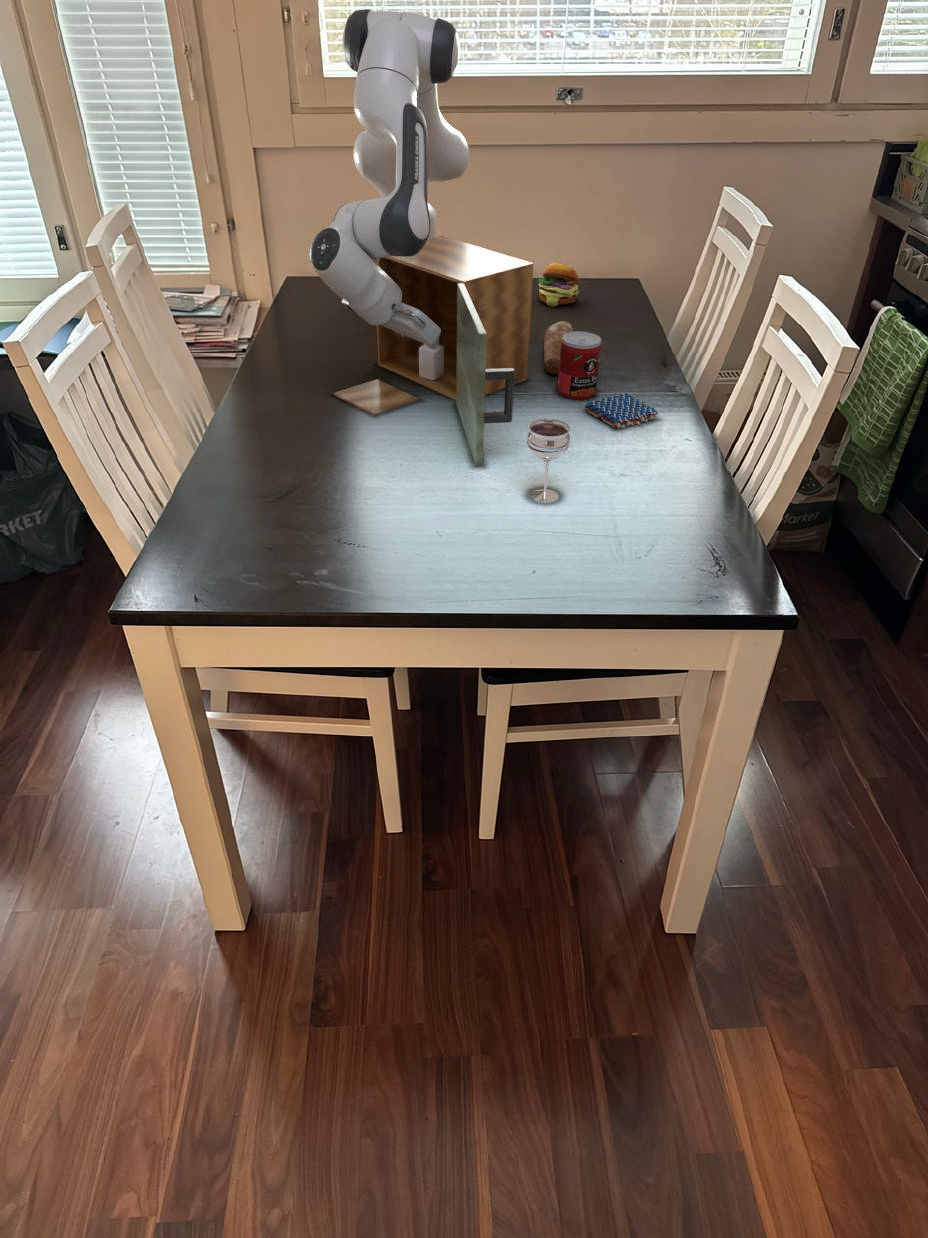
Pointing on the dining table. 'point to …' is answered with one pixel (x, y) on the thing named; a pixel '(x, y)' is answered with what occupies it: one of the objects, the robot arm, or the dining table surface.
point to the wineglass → (547, 449)
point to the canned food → (579, 365)
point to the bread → (554, 345)
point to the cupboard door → (476, 376)
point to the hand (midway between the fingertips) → (418, 339)
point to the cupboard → (433, 290)
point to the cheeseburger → (558, 285)
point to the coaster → (375, 397)
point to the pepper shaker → (431, 362)
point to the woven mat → (621, 410)
